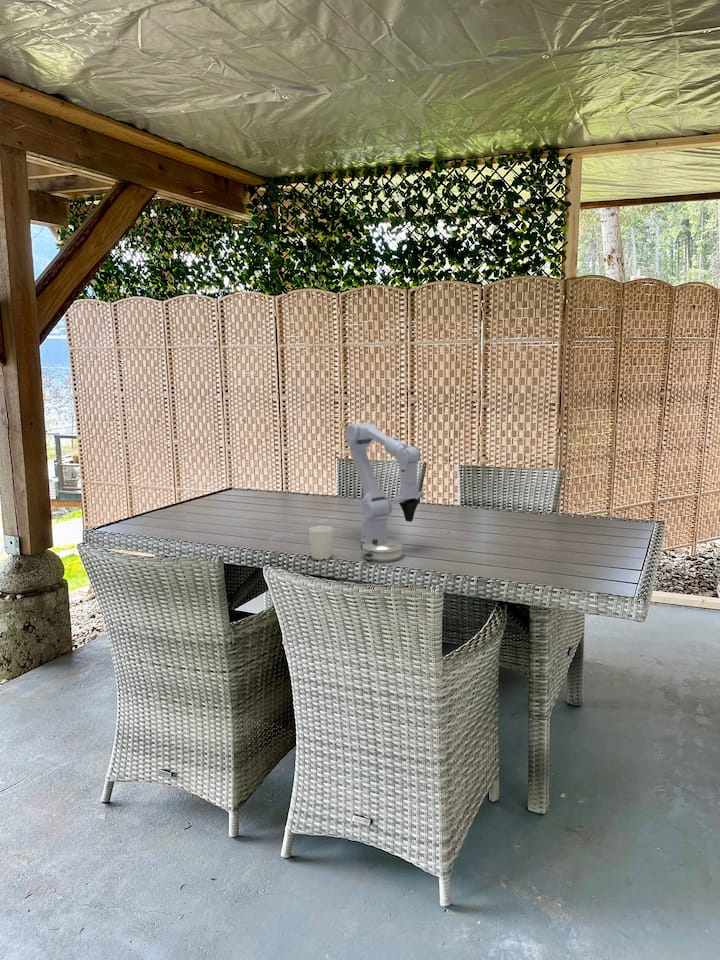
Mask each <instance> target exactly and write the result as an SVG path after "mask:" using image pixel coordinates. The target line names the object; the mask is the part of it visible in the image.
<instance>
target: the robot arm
mask: <svg viewBox="0 0 720 960" xmlns="http://www.w3.org/2000/svg"><path fill="white" fill-rule="evenodd" d="M345 438H346V441H347V445H348V447H349V451H350V455H351V457H352V460H353V463H354V466H355V470H356V471H357V476H358V478H359V480H360V484H361V486H362V489H363V492H364V496H363V497H362V500H360V502H361V505H362V513H363V515H364V517H363V519H362V520H361V524H360V528H361V529H360V540H359V542H360V541H361V543H366V542H369V541H372V540H373V539H377V540H392V539H390V538H388V533H389V532H388V518H390V515H391V514H392V512H393V506H392V502H393V504H397V505H399V506H400V508H401V509H402V513H403V516H404V519H405V521H406V522H408V523H410V522H413V521H414V515H415V512H416V509H417V507H418V505H419V504H420V500H417V499H420V498H421V499H422V498H425V497H424V494H425V492H424V491H418V463H419V461H420V460H421V456H422V455H421V451H420V449H419V448H418V447H417V446H416V445H411V446H410V445H408V443H405V442H403V441H402V440H400V438H399V437H398V436H392V437H391V436H390V437H389V436H388V435H386V434H385V433H384V432H382V431H381V430H380V429H378V428H377V424H374V423H373V422H365V423H363V422H362V423H350V424H349V425H348V426H347V427H346V430H345ZM373 441H374V442H376V443H377V444H379V445H382V446H383V447H384V450H385V452H387V453H388V454H389V455H392V456H393V457H394V458H396V460H397V464H398V468H399V470H400V475H399V476H400V477H399V478H400V479H399V480H400V484H399V485H400V494H399V495H397V496H394V497H393V500H392V502H391V500H390V499H389V498H388V496H387V494H386V493H385V492H383V491H382V490H380V488H379V485H378V482H377V479H376V477H375V476H376V475H375V473H374V470H373V467H372V464H371V462H370V459H369V455H368V454H367V448H368V447H369V446H370V444H372V442H373Z"/></svg>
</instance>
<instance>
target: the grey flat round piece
mask: <svg viewBox="0 0 720 960" xmlns="http://www.w3.org/2000/svg"><path fill="white" fill-rule="evenodd" d="M363 544H364V543H361V544H360V550H363V549H362V545H363ZM362 553H363V559H364V558H365V559H367V560H366V561H368V560H370V561H369V562H372V561H376V562H375V563H388V562H387V561H392V562H396V561H395V560H397V561H400V560H401V559H402V558H403V548H402V549H401V550H398V551H395V552H388V553H374V552H368V551H365V550H363V552H362ZM365 559H364V560H365Z"/></svg>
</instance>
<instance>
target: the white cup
mask: <svg viewBox="0 0 720 960" xmlns="http://www.w3.org/2000/svg"><path fill="white" fill-rule="evenodd" d="M308 530H309V531H308V532H309V543H310V550H311V558H312V559H313V560H318V561H323V559H325V560H328V559H327V558H329V557H331V556H333V539H334V538H333V537H334V536H333V534H334V533H333V532H334V529H333V527H332V526H330V525H329V526H328V525H318V526H317V525H316V526H312V527H309V528H308ZM331 558H332V557H331ZM329 559H330V558H329Z"/></svg>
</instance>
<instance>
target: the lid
mask: <svg viewBox="0 0 720 960" xmlns="http://www.w3.org/2000/svg"><path fill="white" fill-rule="evenodd" d="M362 544H363V545H362V549H361V550H365V551H368V552H374V553H388V552H395V551H398V550H401V549H402V550H403V548H404V544H403V542H401V541H399V540H396V539H395V540H393V539H391V540H377V539H373V540H372V541H369V542H366V543H365V542H363V543H362Z"/></svg>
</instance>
